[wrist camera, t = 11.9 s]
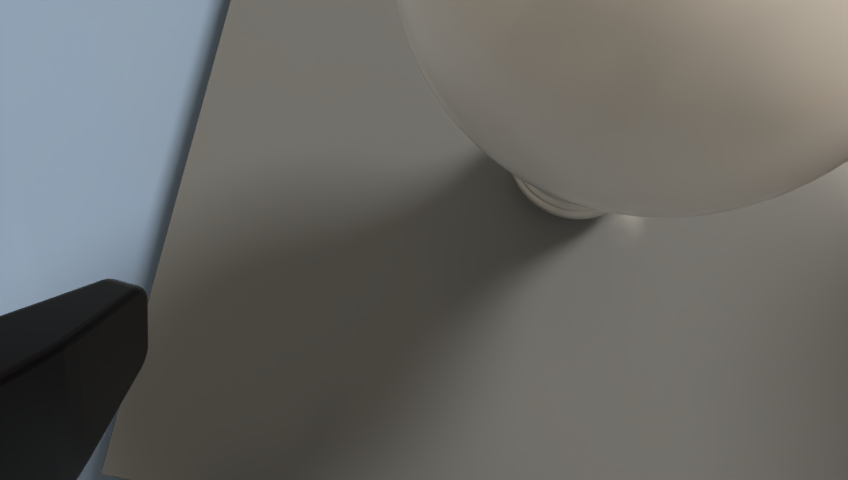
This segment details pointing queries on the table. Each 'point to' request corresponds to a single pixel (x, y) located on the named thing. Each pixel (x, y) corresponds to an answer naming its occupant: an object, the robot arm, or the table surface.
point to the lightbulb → (642, 97)
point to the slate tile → (460, 297)
